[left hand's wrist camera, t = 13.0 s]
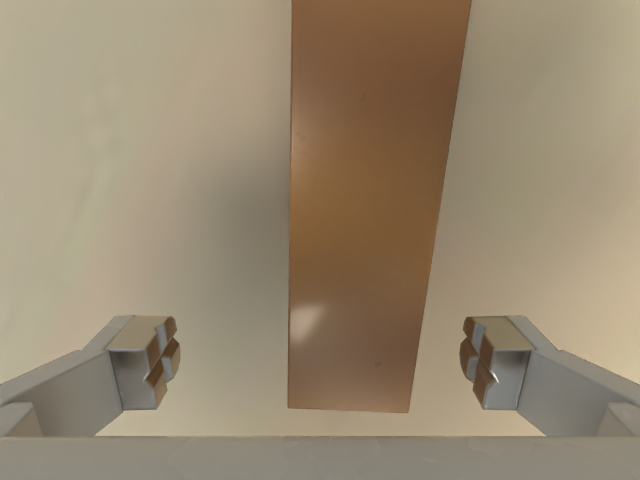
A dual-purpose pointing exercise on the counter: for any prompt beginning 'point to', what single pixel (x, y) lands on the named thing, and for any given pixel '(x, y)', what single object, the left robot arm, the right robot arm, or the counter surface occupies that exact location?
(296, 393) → the bar
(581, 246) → the counter surface
